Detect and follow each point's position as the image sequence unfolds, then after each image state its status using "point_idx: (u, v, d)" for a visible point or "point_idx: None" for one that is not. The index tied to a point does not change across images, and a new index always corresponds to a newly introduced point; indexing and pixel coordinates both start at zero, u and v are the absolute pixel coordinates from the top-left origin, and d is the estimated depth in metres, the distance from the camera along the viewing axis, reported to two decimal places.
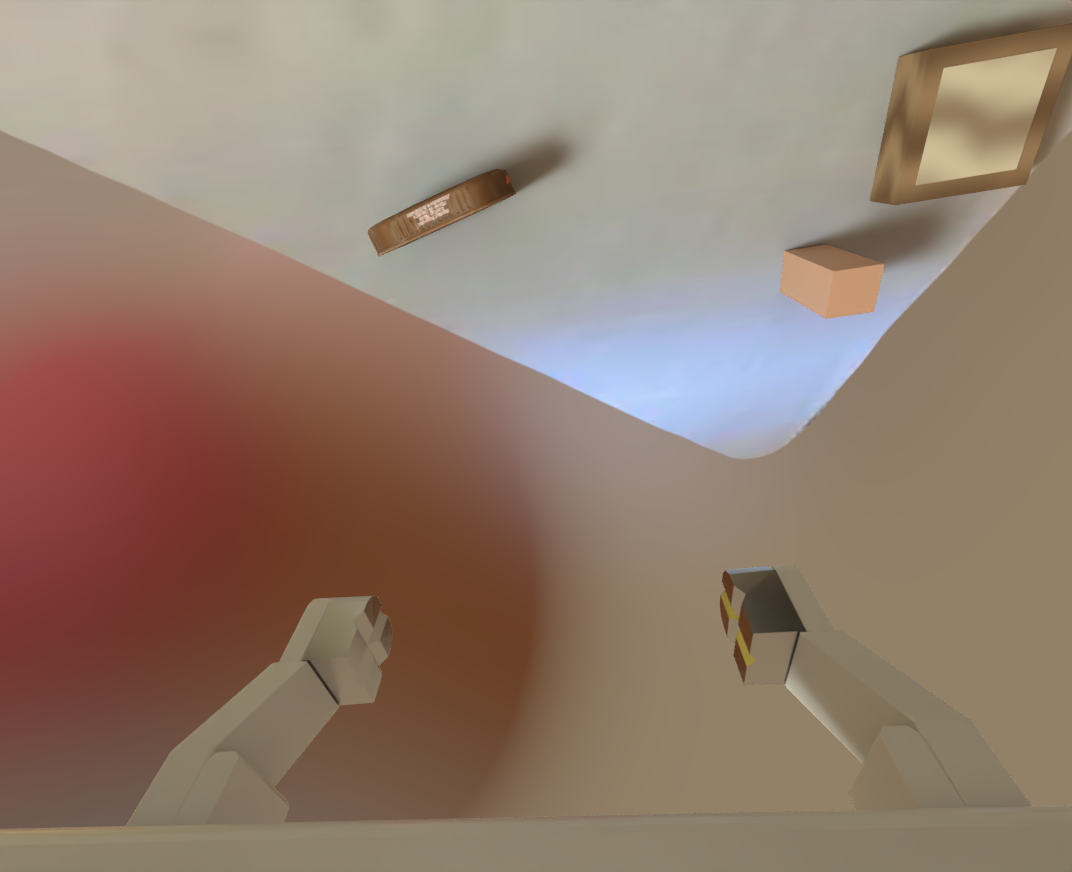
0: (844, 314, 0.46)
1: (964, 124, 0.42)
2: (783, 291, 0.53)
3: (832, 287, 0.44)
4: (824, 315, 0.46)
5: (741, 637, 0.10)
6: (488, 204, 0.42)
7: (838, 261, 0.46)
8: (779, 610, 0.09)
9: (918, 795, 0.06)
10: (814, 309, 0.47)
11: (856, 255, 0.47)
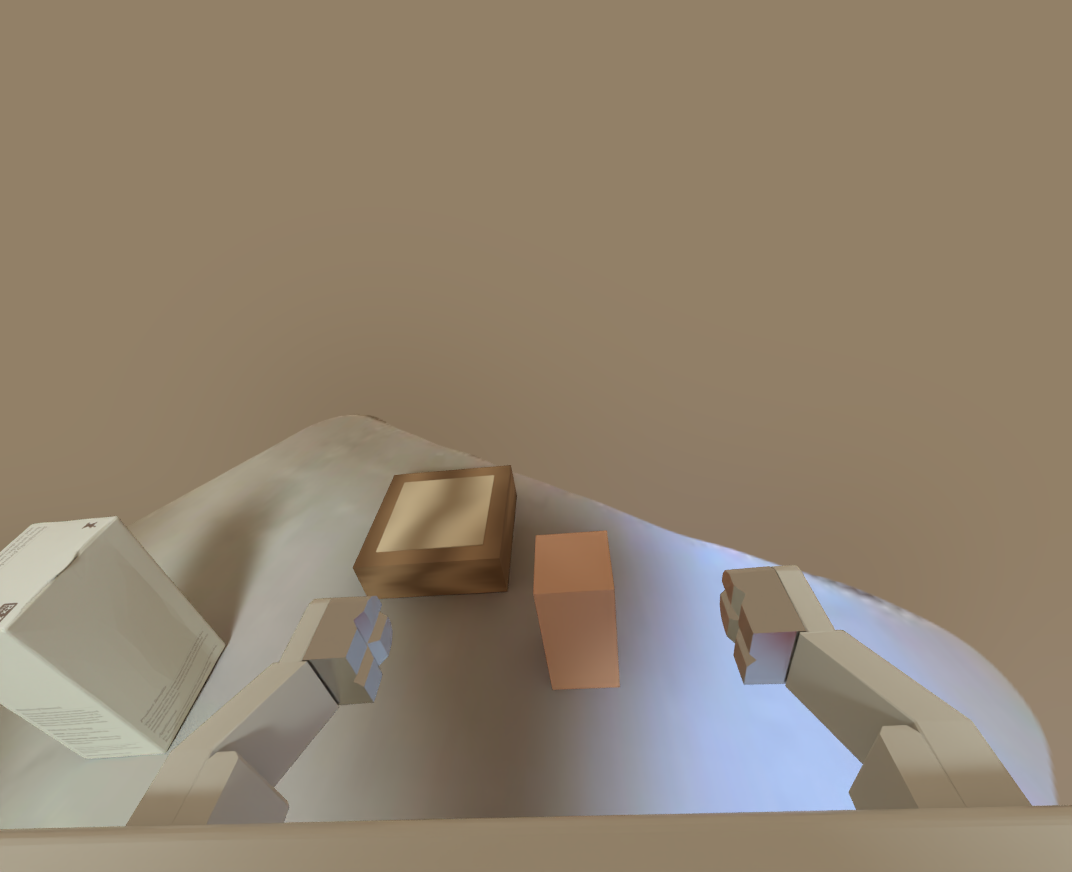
0: (608, 564, 0.27)
1: (436, 522, 0.41)
2: (615, 679, 0.31)
3: (560, 590, 0.26)
4: (609, 593, 0.26)
5: (741, 637, 0.10)
6: None
7: None
8: (779, 610, 0.09)
9: (918, 795, 0.06)
10: (611, 614, 0.27)
11: None
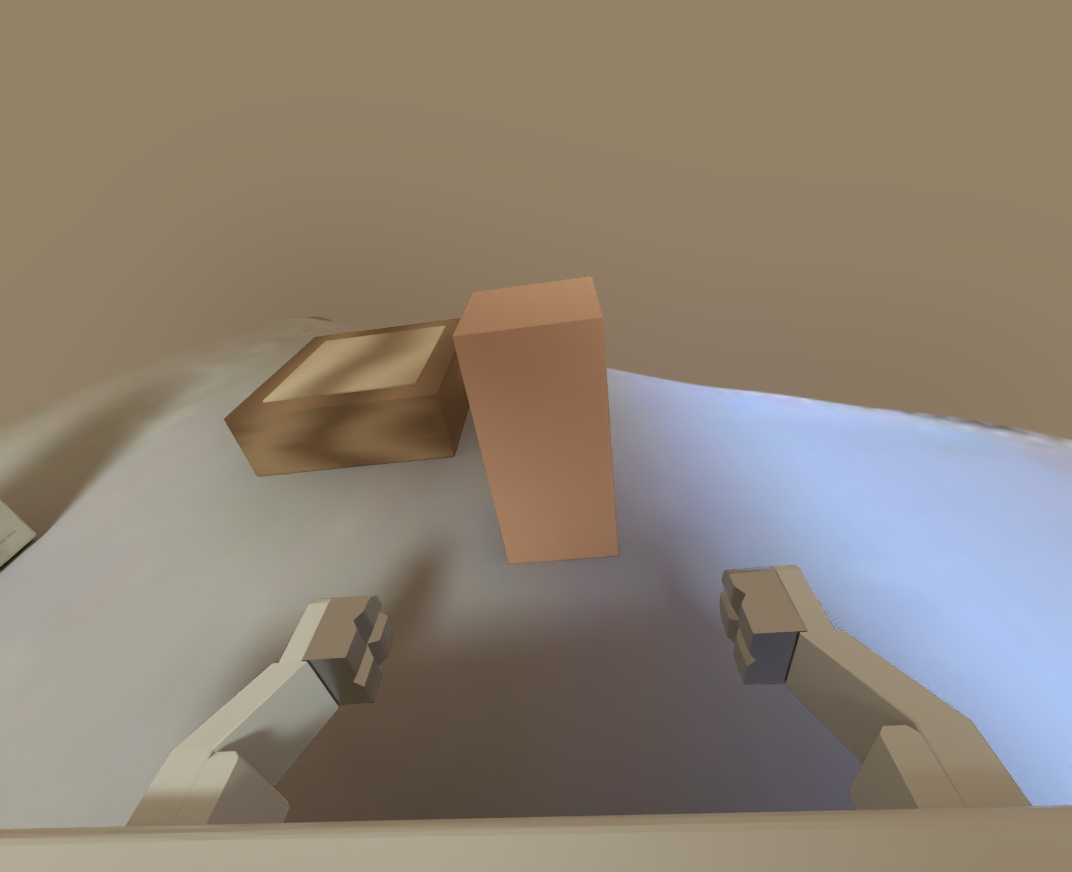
0: (593, 299, 0.15)
1: (355, 369, 0.29)
2: (610, 540, 0.19)
3: (503, 328, 0.14)
4: (594, 327, 0.14)
5: (741, 637, 0.10)
6: None
7: None
8: (779, 610, 0.09)
9: (918, 795, 0.06)
10: (598, 384, 0.15)
11: None
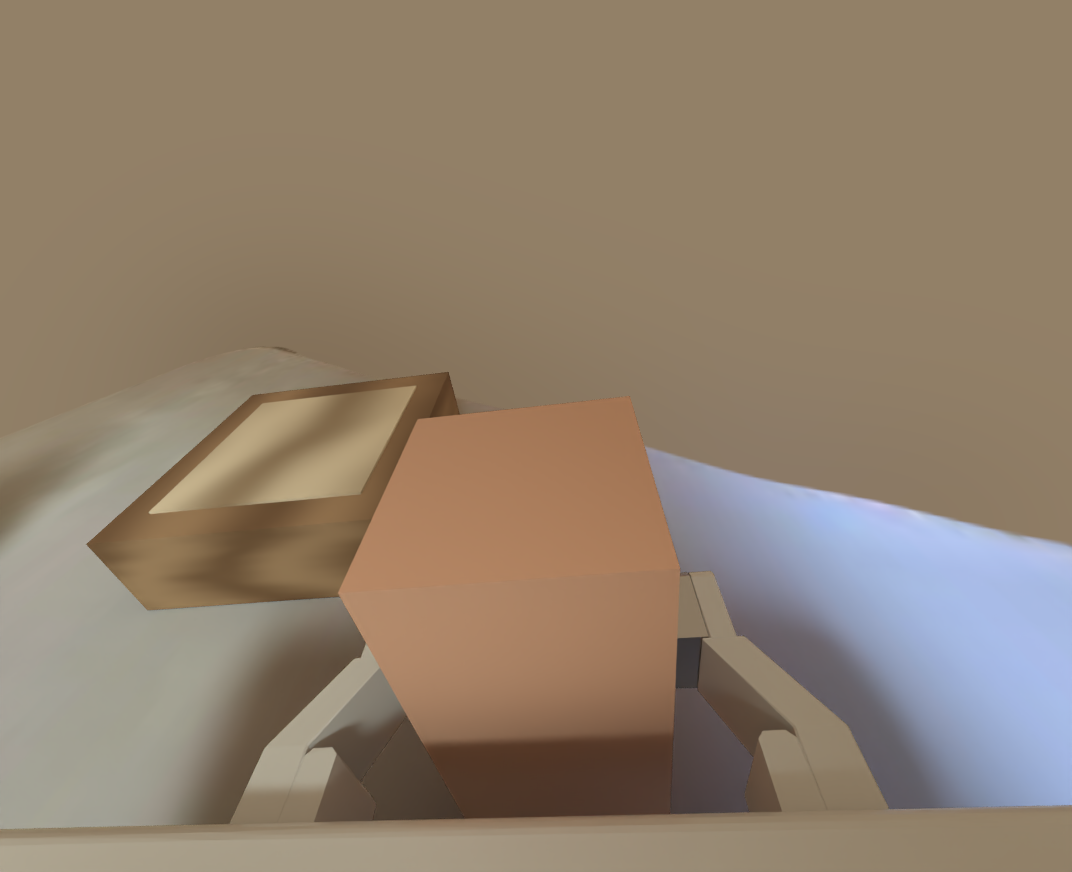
0: (644, 480, 0.07)
1: (287, 458, 0.21)
2: None
3: (452, 574, 0.06)
4: (657, 584, 0.06)
5: None
6: None
7: None
8: (686, 616, 0.09)
9: (784, 798, 0.07)
10: (658, 667, 0.07)
11: None
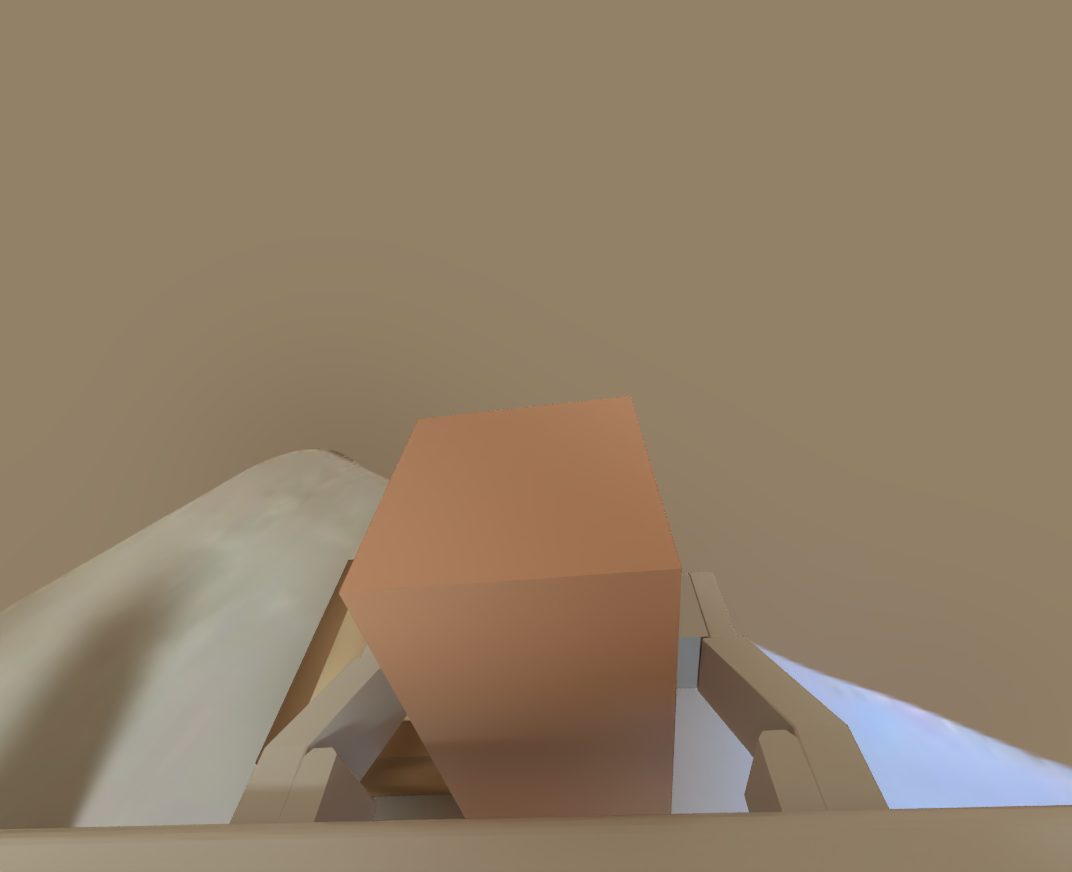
0: (645, 480, 0.07)
1: None
2: None
3: (452, 575, 0.06)
4: (658, 584, 0.06)
5: None
6: None
7: None
8: (687, 616, 0.09)
9: (784, 798, 0.07)
10: (659, 668, 0.07)
11: None
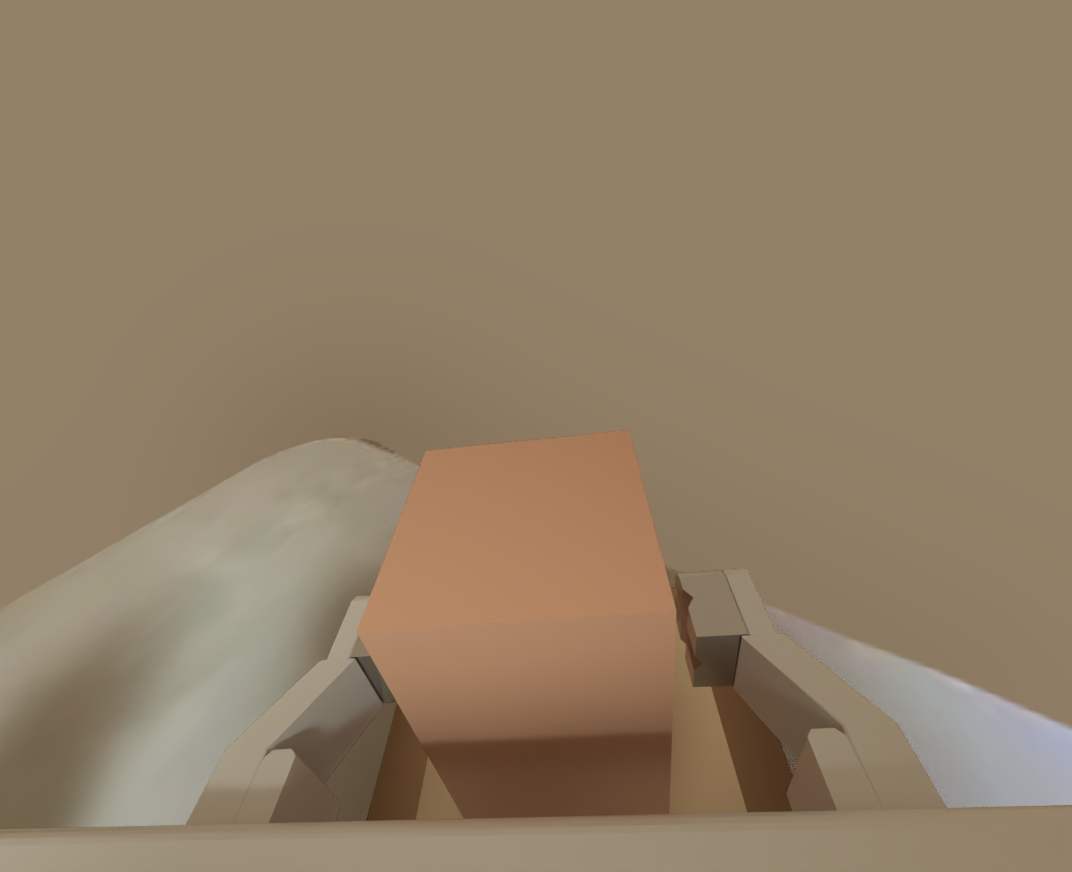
0: (643, 519, 0.08)
1: None
2: None
3: (463, 615, 0.07)
4: (655, 624, 0.06)
5: (690, 640, 0.10)
6: None
7: None
8: (724, 614, 0.09)
9: (838, 797, 0.06)
10: (656, 697, 0.07)
11: None
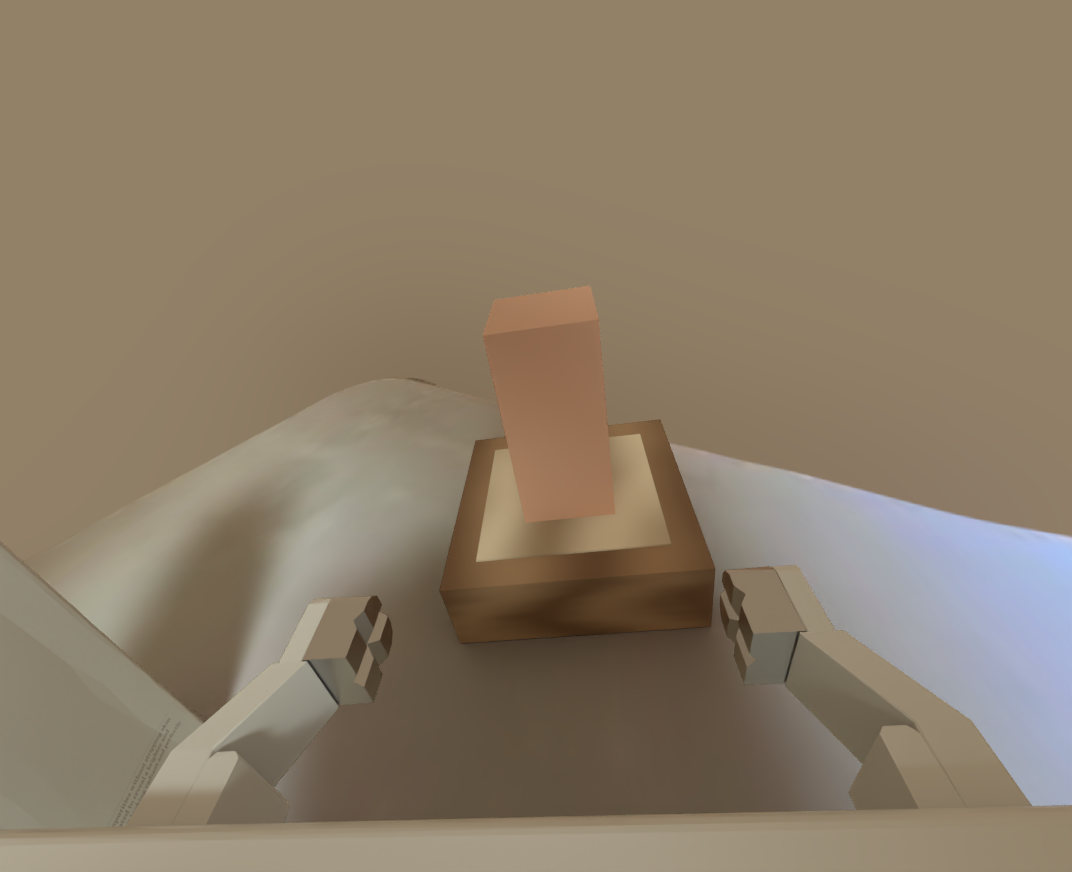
0: (591, 305, 0.19)
1: None
2: (608, 500, 0.23)
3: (522, 328, 0.18)
4: (592, 327, 0.18)
5: (741, 637, 0.10)
6: None
7: None
8: (779, 610, 0.09)
9: (918, 795, 0.06)
10: (596, 371, 0.19)
11: None
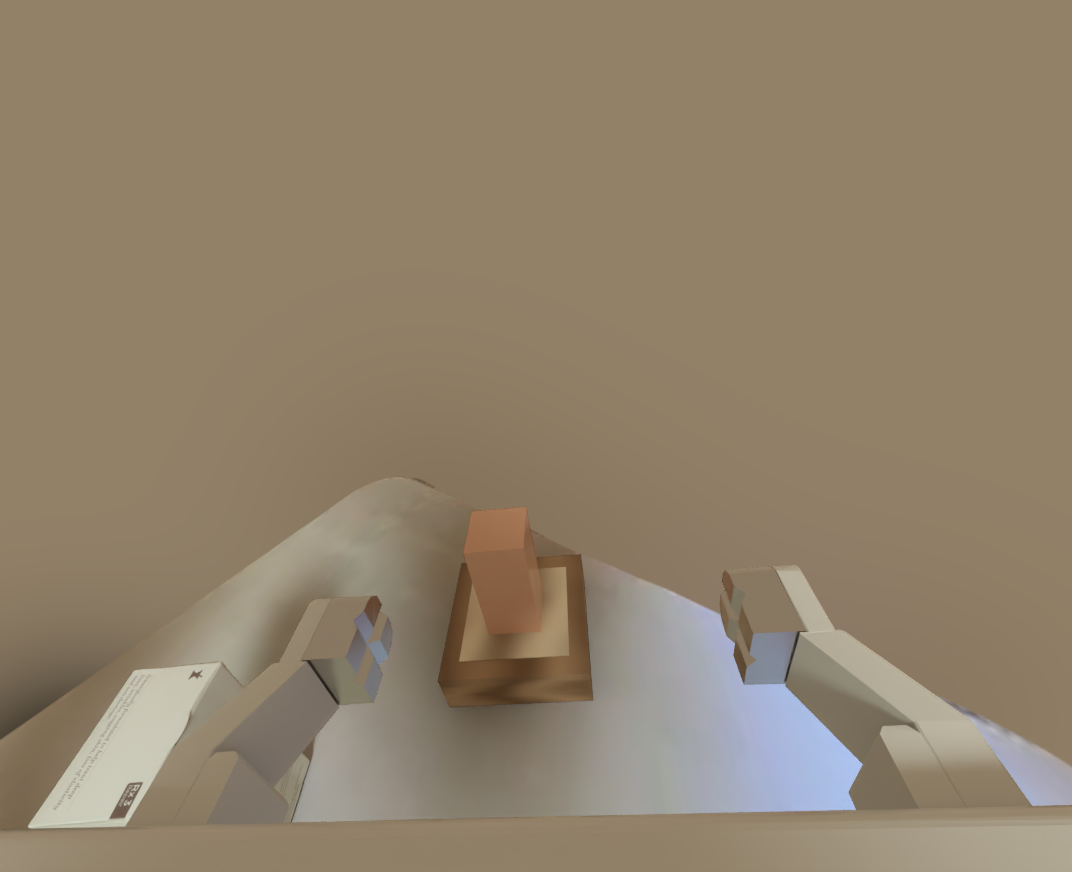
0: (522, 531, 0.36)
1: None
2: (537, 625, 0.39)
3: (483, 549, 0.35)
4: (520, 551, 0.34)
5: (741, 637, 0.10)
6: None
7: None
8: (779, 610, 0.09)
9: (918, 795, 0.06)
10: (524, 568, 0.35)
11: None
